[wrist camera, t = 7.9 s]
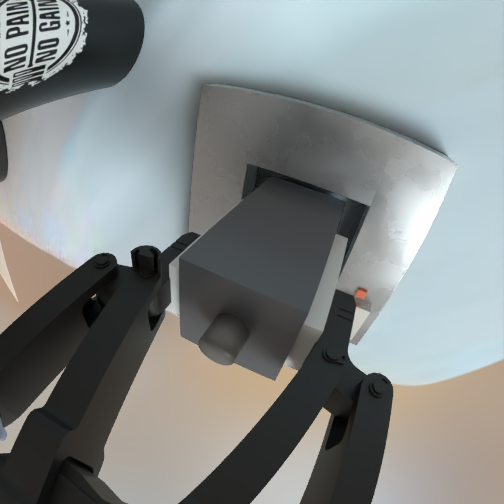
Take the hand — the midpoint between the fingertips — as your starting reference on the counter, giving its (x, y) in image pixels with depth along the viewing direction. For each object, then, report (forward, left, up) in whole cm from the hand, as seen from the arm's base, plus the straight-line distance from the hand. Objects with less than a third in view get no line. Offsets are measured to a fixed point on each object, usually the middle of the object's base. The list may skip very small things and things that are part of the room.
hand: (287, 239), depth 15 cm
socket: (0, 0, -3) cm, 3 cm away
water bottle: (-18, +10, -3) cm, 21 cm away
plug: (0, 0, -2) cm, 2 cm away
